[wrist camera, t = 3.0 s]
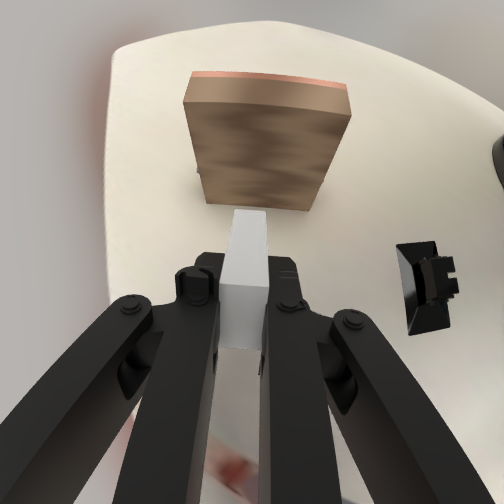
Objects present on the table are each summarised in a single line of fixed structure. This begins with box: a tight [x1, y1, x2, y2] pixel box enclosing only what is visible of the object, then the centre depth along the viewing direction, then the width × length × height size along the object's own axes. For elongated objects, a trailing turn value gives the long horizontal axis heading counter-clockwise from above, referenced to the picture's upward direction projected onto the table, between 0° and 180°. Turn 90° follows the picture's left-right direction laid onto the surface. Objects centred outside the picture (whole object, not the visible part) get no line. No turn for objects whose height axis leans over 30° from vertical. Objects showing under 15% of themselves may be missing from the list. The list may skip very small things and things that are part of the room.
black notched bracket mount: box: [396, 241, 459, 336], centre depth 26 cm, size 12×7×5 cm, turn 4°
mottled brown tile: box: [183, 71, 352, 211], centre depth 23 cm, size 10×3×14 cm, turn 86°
